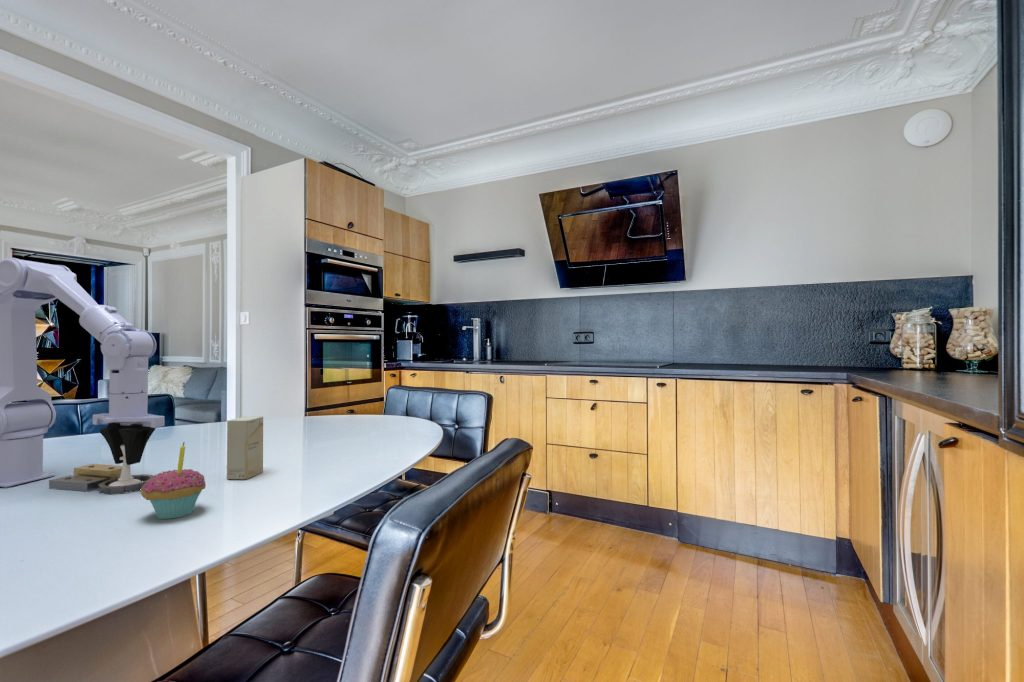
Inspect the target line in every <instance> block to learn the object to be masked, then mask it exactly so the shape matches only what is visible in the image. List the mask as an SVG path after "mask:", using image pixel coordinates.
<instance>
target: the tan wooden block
mask: <svg viewBox="0 0 1024 682" xmlns="http://www.w3.org/2000/svg"><path fill="white" fill-rule="evenodd" d="M122 466H123V465H117V464H116V465H115V464H100V463H99V464H98V463H91V464H87V465H82V466H78V467H73V475H74V476H87V477H99V478H107V480H110V479H114V478H118V477H120V475H121V471H122Z"/></svg>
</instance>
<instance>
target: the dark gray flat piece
mask: <svg viewBox="0 0 1024 682" xmlns="http://www.w3.org/2000/svg"><path fill="white" fill-rule="evenodd" d="M131 476H132V477H133V479H138V480H141V481H143V482H140V483H136V484H131V485H125V486H109V485H110V484H111V483H113V482H115V481H119V480H118V479H119V478H120V477H118V478H114V479H110V480H107V478H99V477H87V476H74V474H73V475H72V474H70V475H65V476H61V477H57V478H53V479H50V480H48V489H52V488H56V490H63V489H68V490H67V491H75V490H78V491H77V492H86V491H87V492H90V490H91V491H94V490H97V492H98V491H99V492H98V493H99V494H100V493H104V494H103V495H116V494H115V493H120V494H125V493H124V492H128V493H131V492H130V491H133V492H136V491H135V490H139V491H141V490H140V489H141V488H142V486H143V485H144V484H145V483H146V482H147V481H148V480H150V479H151V477H154V476H155V475H152V474H131ZM97 488H98V489H97ZM93 489H94V490H93Z"/></svg>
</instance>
